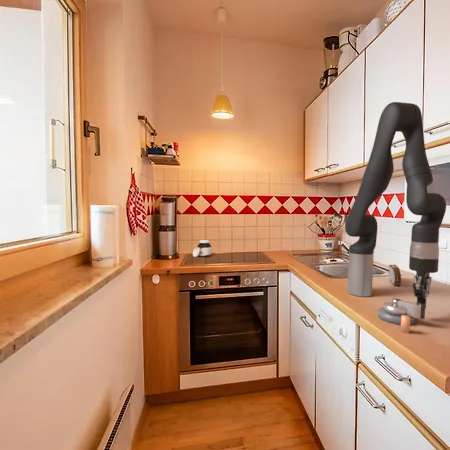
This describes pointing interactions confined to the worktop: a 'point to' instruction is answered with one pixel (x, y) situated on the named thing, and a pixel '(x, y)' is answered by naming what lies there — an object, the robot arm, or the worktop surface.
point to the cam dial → (405, 308)
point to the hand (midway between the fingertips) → (421, 308)
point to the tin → (394, 275)
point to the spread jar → (203, 249)
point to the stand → (397, 320)
